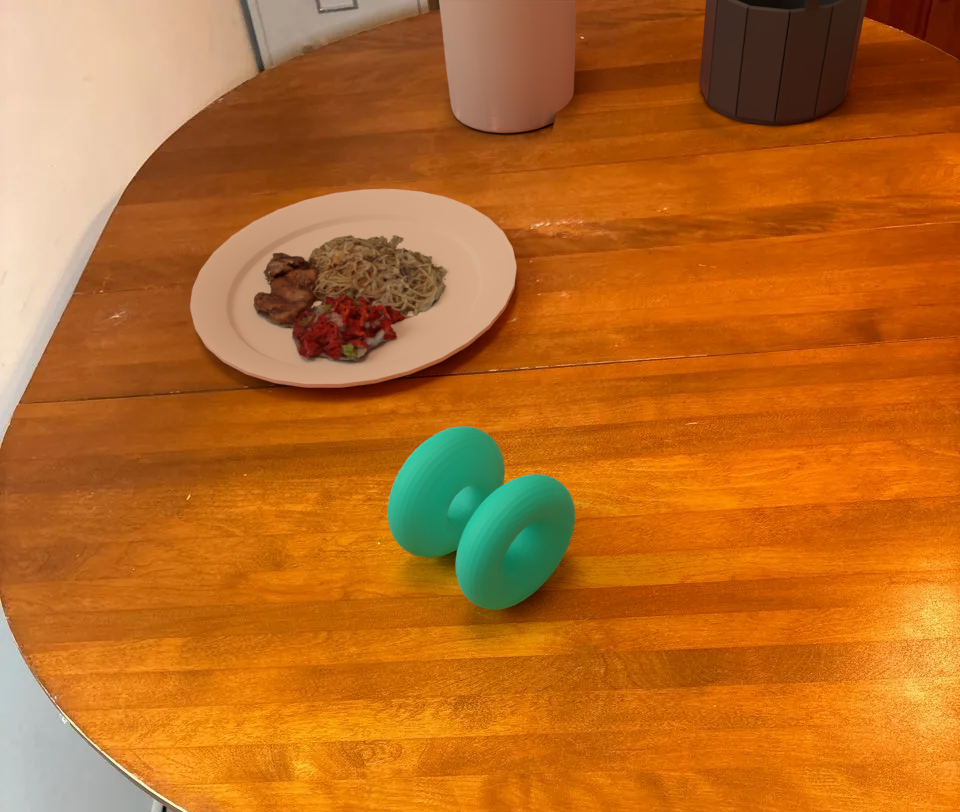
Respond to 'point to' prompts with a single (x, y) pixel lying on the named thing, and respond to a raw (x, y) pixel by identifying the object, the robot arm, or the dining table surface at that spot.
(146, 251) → the dining table surface
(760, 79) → the bin
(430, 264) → the plated food
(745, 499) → the dining table surface
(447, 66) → the utensil holder
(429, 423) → the dining table surface
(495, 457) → the teal spool
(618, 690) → the dining table surface
